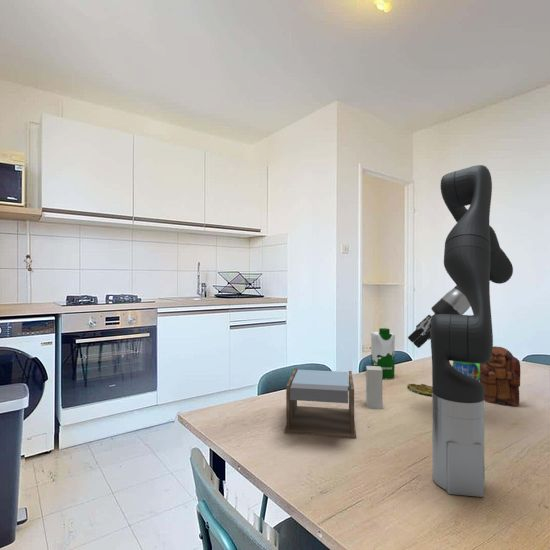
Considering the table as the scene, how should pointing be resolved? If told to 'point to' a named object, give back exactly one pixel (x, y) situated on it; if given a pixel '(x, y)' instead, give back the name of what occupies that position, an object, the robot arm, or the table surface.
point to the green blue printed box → (468, 369)
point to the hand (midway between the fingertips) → (412, 342)
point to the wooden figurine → (501, 378)
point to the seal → (421, 389)
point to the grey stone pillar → (374, 387)
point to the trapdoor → (320, 386)
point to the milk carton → (383, 351)
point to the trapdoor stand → (320, 416)
